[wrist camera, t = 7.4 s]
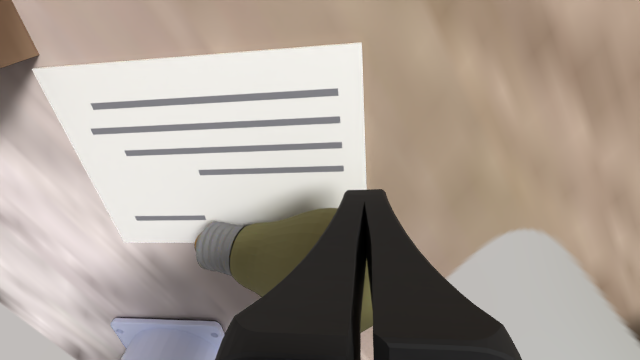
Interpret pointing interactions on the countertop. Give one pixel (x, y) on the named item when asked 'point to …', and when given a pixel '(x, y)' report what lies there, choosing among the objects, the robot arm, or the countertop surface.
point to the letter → (215, 135)
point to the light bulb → (268, 251)
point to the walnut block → (13, 36)
